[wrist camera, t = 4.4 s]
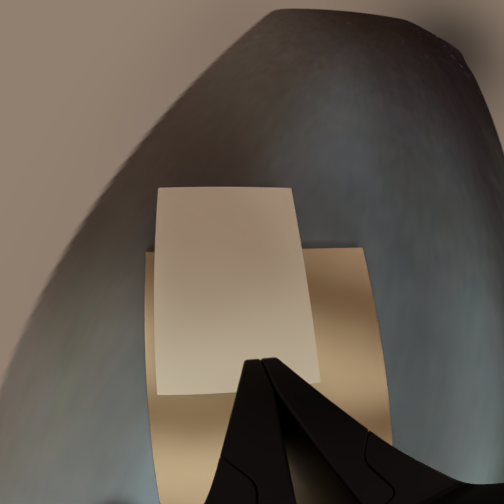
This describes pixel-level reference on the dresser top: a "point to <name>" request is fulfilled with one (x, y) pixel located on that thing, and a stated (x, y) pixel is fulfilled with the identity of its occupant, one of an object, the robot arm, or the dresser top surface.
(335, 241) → the dresser top surface
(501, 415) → the dresser top surface
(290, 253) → the glazed tile
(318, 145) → the dresser top surface
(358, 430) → the robot arm
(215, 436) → the tan wooden board
